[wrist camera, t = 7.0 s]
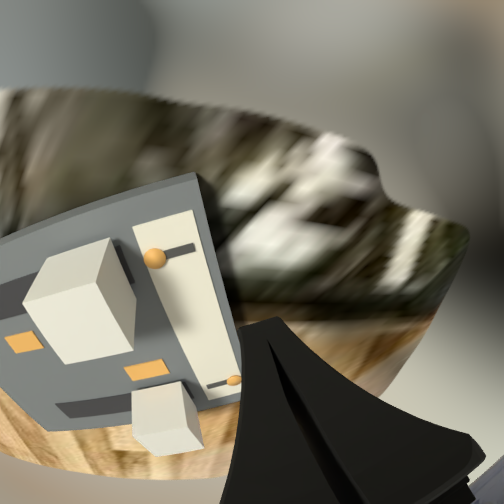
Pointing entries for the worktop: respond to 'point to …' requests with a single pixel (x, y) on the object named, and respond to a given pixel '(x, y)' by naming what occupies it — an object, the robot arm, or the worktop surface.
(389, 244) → the worktop surface
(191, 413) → the white cube
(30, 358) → the switch unit
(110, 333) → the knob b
